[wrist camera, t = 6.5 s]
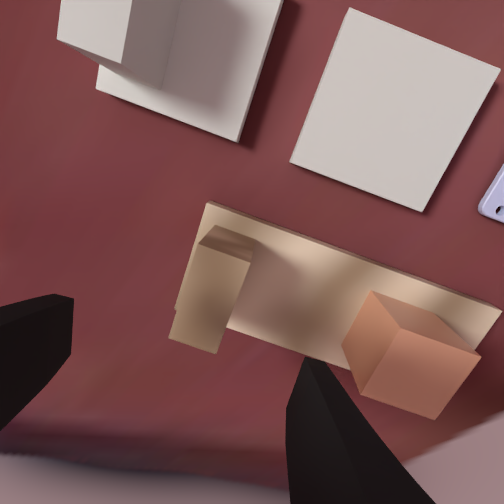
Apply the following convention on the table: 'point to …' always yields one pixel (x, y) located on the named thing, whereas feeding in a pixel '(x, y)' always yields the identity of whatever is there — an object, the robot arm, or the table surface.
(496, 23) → the table surface
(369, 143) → the white block
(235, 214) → the birch strip
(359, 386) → the terracotta cube
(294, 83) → the table surface
